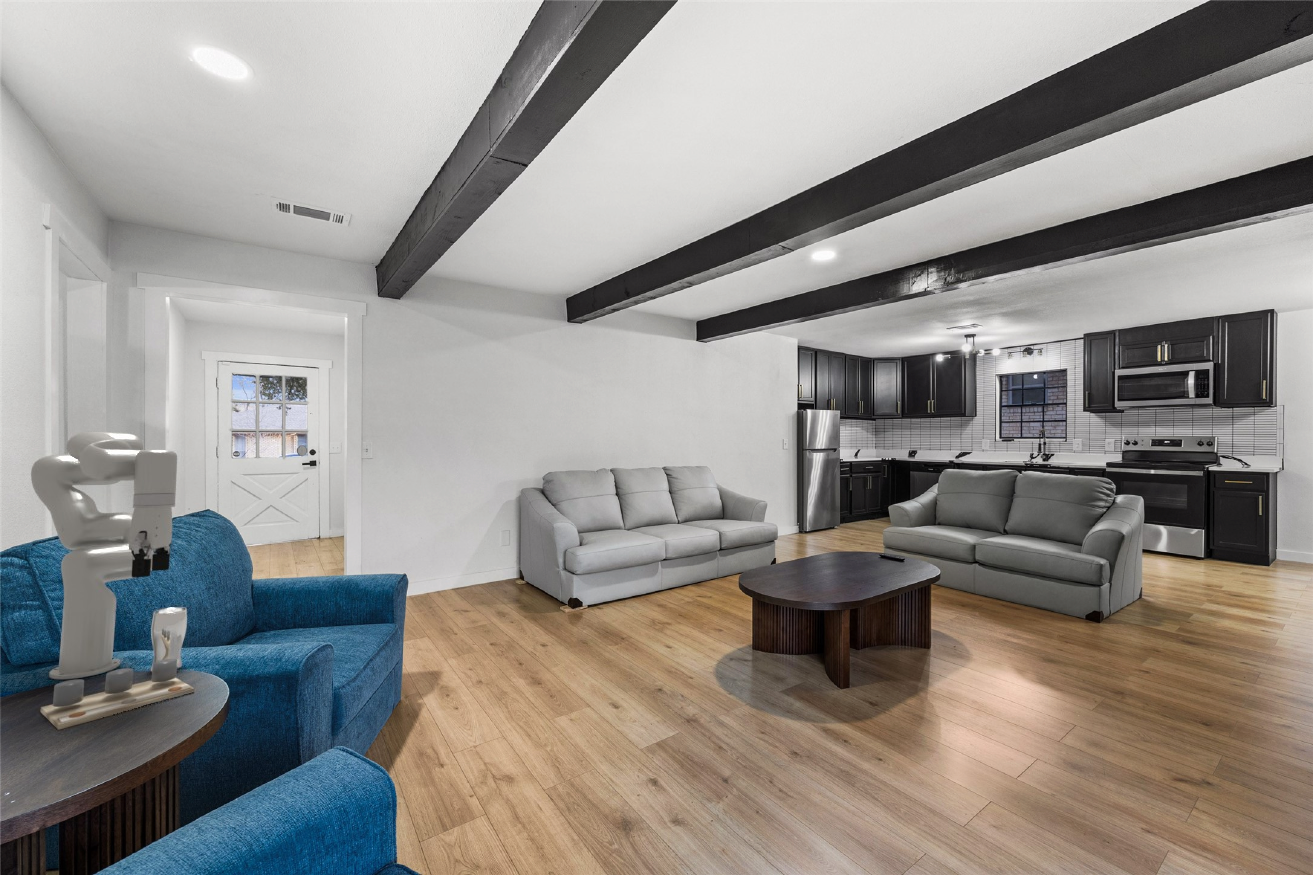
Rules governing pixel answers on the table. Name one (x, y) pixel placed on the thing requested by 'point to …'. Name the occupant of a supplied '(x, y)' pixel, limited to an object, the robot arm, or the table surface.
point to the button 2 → (164, 670)
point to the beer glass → (168, 633)
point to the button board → (113, 702)
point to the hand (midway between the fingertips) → (151, 573)
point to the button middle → (119, 681)
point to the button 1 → (68, 693)
